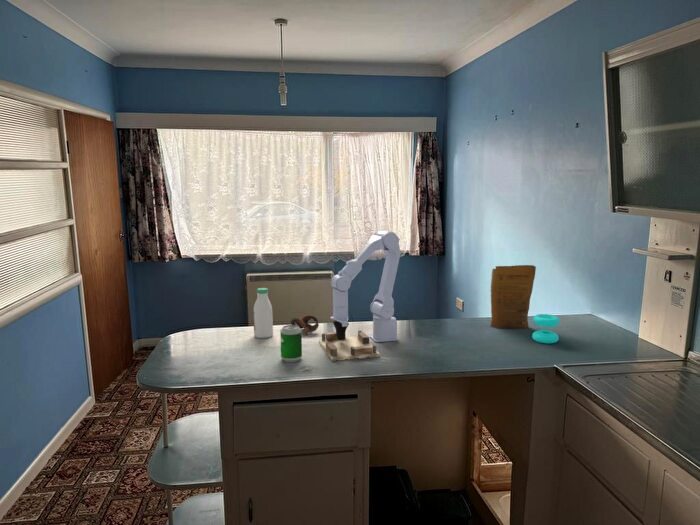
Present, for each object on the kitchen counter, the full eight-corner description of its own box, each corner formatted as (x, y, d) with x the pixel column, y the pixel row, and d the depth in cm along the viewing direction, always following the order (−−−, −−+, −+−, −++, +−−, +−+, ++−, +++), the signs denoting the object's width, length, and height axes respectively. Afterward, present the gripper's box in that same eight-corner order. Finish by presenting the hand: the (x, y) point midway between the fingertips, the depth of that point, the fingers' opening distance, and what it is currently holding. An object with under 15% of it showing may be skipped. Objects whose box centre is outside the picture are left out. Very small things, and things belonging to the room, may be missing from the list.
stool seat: (362, 338, 202) (362, 329, 201) (379, 356, 181) (379, 346, 180) (319, 342, 197) (318, 333, 196) (331, 361, 176) (331, 350, 176)
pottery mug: (316, 329, 217) (321, 315, 213) (314, 344, 210) (318, 330, 205) (290, 322, 216) (293, 309, 211) (286, 337, 208) (290, 324, 204)
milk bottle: (276, 334, 207) (275, 288, 204) (264, 339, 200) (262, 291, 197) (263, 332, 211) (261, 286, 208) (250, 336, 204) (248, 289, 201)
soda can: (305, 357, 180) (304, 325, 178) (296, 364, 173) (295, 331, 171) (286, 354, 183) (286, 323, 181) (277, 361, 176) (276, 329, 174)
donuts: (554, 321, 191) (529, 316, 197) (553, 346, 193) (527, 340, 199) (563, 316, 198) (538, 312, 205) (562, 340, 200) (537, 335, 206)
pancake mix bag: (534, 330, 214) (538, 266, 209) (489, 329, 215) (492, 265, 211) (530, 325, 220) (533, 263, 216) (486, 324, 222) (489, 263, 217)
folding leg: (327, 340, 195) (327, 334, 195) (325, 338, 197) (325, 332, 197) (345, 338, 197) (345, 332, 197) (343, 337, 200) (343, 330, 199)
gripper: (326, 302, 197) (326, 334, 199) (334, 310, 183) (334, 346, 185) (343, 301, 199) (343, 333, 201) (353, 309, 185) (353, 344, 187)
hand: (340, 339), depth 193 cm, fingers closed
